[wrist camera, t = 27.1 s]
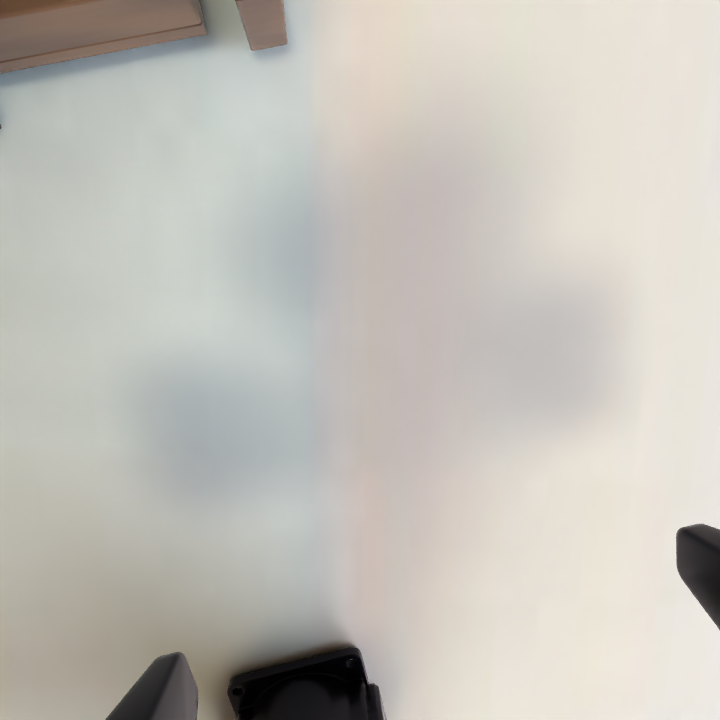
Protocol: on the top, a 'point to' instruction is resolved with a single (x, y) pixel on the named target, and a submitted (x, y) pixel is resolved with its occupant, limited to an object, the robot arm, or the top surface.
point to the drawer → (116, 27)
